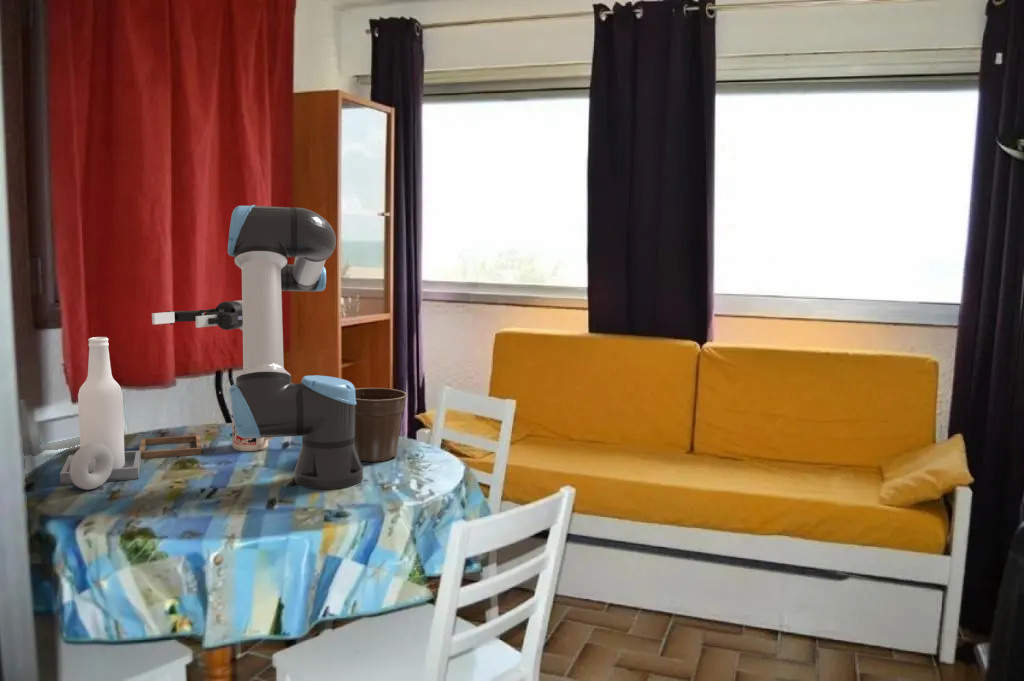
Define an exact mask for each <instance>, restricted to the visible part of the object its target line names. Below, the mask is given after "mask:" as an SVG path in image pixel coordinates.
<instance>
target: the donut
mask: <svg viewBox="0 0 1024 681" xmlns="http://www.w3.org/2000/svg"><path fill="white" fill-rule="evenodd" d="M73 455H74V456H73V458H72V460H71V463H70V470H69V472H70V478H71V479H72V481H73V483H74V484H73V485H75V486H77V487H78V488H79V489H82V490H86V491H89V490H95V489H97V488H99V487H101V486H103V485H104V483H105V482H107V481H106V480H107V479H108V477H109V476H110V474H111V471H112V468H113V455H112V453H111V451H110V449H109V448H108V447H107V446H106V445H104V444H102V443H98V442H94V443H88V444H86V445H84V446H82V447H81V448H80V447H79V449H77V450H76V452H74V454H73ZM93 458H95V460H96V466H95V469H94V470H93V472H92V473H90V474H89V472H88V465H89V462H90V461H91V460H92V459H93Z"/></svg>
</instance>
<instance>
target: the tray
mask: <svg viewBox="0 0 1024 681" xmlns="http://www.w3.org/2000/svg"><path fill="white" fill-rule="evenodd" d="M124 454H125V464H124V466H123V468H113V469H112V471H111V474H110V476H109V477H108V479H107V480H106V481H105V482H115V481H117V482H118V481H128V480H139V478H140V477H139V476H140V471H141V470H140V469H141V465H142V464H141V463H142V459H141V450H126V451H125V450H124ZM73 456H74V454H69V455H68V456H67V458H66V460H65V462H64V465H63V466H62V469H61V471H60V473H59V481H60V486H65V485H75V484H74V483H73V481H72V479H71V478H70V472H69V470H70V463H71V460H72V458H73ZM88 472H89V474H90V473H92V472H93V470H88Z"/></svg>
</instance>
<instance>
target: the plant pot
mask: <svg viewBox="0 0 1024 681" xmlns="http://www.w3.org/2000/svg"><path fill="white" fill-rule="evenodd" d="M355 397H356V405H355V446H356V449H357V452H358V455H359V458H360V461H361V462H370V463H376V462H377V463H379V462H384V461H385V462H386V461H390V460H391V459H395V458H396V457H397V455H398V448H399V439H400V432H401V429H400V428H401V422H402V415H403V411H404V409H405V402H406V398H407V397H408V393H407V392H405V391H403V390H400V389H399V390H398V389H394V388H386V387H359V388H358V387H357V388H355Z"/></svg>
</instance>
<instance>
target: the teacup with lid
mask: <svg viewBox="0 0 1024 681" xmlns="http://www.w3.org/2000/svg"><path fill="white" fill-rule="evenodd" d="M231 418H232V425H231V426H232V448H233V449H234V450H236V451H240V452H255V451H260V450H261V451H262V450H264V449H266V448H267V447H268V446H269V440H273V439H274V438H275V437H266V438H261V439H258V438H241V437H239V436H238V435H237V433H236V430H235V425H234V419H233V413H231Z"/></svg>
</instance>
